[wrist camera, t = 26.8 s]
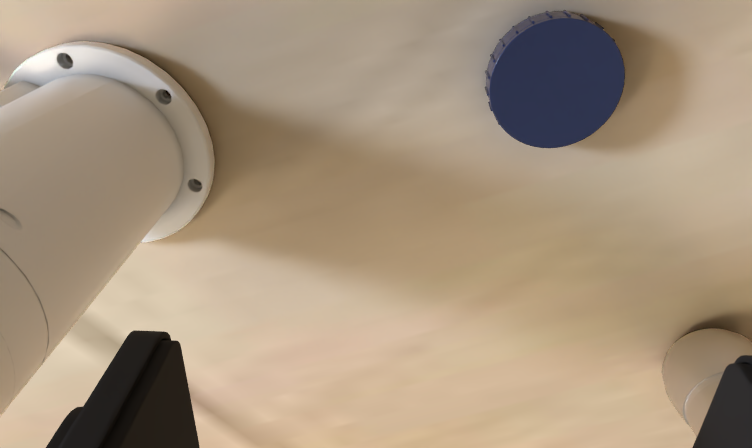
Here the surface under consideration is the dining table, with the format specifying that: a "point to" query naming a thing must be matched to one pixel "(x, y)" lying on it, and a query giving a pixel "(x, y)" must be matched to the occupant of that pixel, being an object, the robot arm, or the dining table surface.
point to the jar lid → (554, 79)
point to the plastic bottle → (700, 370)
